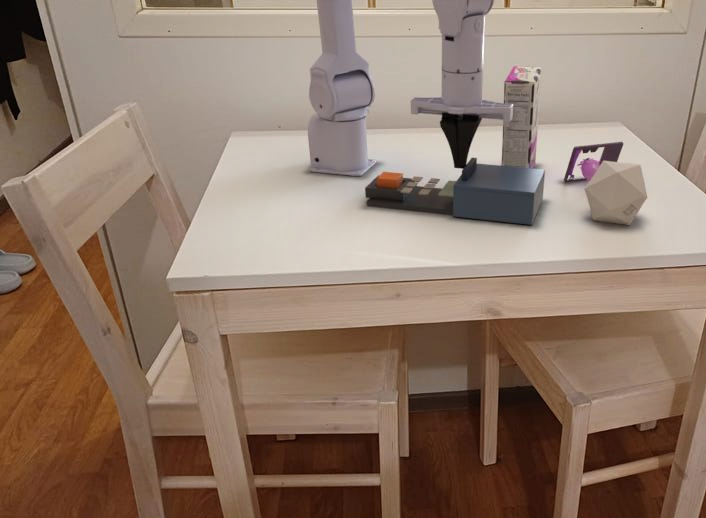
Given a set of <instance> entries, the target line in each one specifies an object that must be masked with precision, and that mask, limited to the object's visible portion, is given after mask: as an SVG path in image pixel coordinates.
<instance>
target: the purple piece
mask: <svg viewBox="0 0 706 518" xmlns="http://www.w3.org/2000/svg"><path fill="white" fill-rule="evenodd" d="M623 146H624V142H623V141H615V142H606V143H597V144H596V143H595V144H588V145H578V146H574V147H573V149H572V151H571V155H570V157H569V161H568V165H567V168H566V170H565V171H566V172H565V174H564V178H563V182H564V183H568V182H579V181H588V182H589V181H590V180H591V178H592V177H593V175H594V174H595V172H596V171H597V169H598V168H599V166H600V165H601V163H602V162H603V161H612V162H618V160H619V158H620V155H621V152H622V150H623ZM599 148H603V150H602V153H601V155H600V159H599V160H597V159H596V158H592V157H587V158H583V160H582V161H580V162H579V163H578V164H577V167H579V166H581V167H579V169H580V170H581V174H582V177H576V178H575V174H573V173H574V168H575V166H576V163H577V160H578V158H579V156H580V154H581V153H582V154H589V152H590V153H596V152H597V150H599Z"/></svg>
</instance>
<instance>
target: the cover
mask: <svg viewBox="0 0 706 518" xmlns="http://www.w3.org/2000/svg"><path fill="white" fill-rule="evenodd" d="M545 177H546V169H545V168H543V169H542V168H534V169H533V168H522V167H511V166H502V165H499V164H498V165H497V164H487V163H478V159H477V157H471V158H470V159H469V161H467V163H466V166H465V167H464V169H461V174H460V176H458V178H457V180H455V181H456V182H455V184H454V187H453V188H454V189H453V215H452V217H455V218H464V219H473V220H474V219H475V220H483V221H484V220H485V221H492V222H503V223H512V224H522V225H531V226H532V225H533V223H534V221H535V218H536V217H537V214H538V213H539V212H538V211H539V210H540V207H541V205H542V202H543V199H544V188H545Z"/></svg>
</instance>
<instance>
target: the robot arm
mask: <svg viewBox="0 0 706 518" xmlns="http://www.w3.org/2000/svg"><path fill="white" fill-rule="evenodd" d="M431 1H432V6H433V9H434V12H435V14H436V16H437V19H438V30H440V31H439V32H440V34H441V96H440V97H419V96H415V97H413V98H411V100H410V114H411V115H419V114H424V115H425V114H426V115H436V116H441V118H440V120H439V126H440V129H441V130H442V132H443V134H444V136H445V138H446V140H447V143H448V146H449V149H450V153H451V156H452V162H453V168H454V169H461V170H463V169H464V167H465V166H466V165H467V163H468V156H469V152H470V149H471V146H472V142H473V140H474V138H475V135H476V133H477V130H478V128H479V126H480V124H481V122H482V120H483V119H487V120H500V121H502V122H503V121H508V122H510V121H511V120H512V118H513V104H504V102H497V101H492V100H485V99H483V79H484V78H483V77H484V76H483V75H484V52H485V26H486V25H485V23H486V21H485V20H486V15H488V14H489V13H490V11H491V10H492V8H493V6H494V3H495V0H431ZM316 8H317V15H318V25H319V33H320V43H321V54H320V56H319V57H318V58H317V59H316V60H315V62H314V63H313V64H312V65H311V67H310V68H309V73H310V83H309V89H308V98H309V101H310V104H311V107H312V109H313V110H314V112H315V113H314V114H312V115H311V116H310V118H309V121H308V125H307V139H308V140H307V141H308V150H309V163H310V168H309V170H308V171H309V172H310V173H322V174H330V175H342V176H350V177H351V176H352V177H362V176H363V175H365V174H366V173H367V172H368V171H369V170H370V169H372V167H374V165H375V164H377V160H376V159H369V154H368V135H367V134H368V133H367V115H368V114H370V107H372V105H374V102H375V98H376V88H375V83H374V81H373V79H372V76H371V71H370V64H369V62H368V61H367V60H366V58H364V57H363V56H362V55H360V54H359V53H358V52H357V43H356V41H357V40H356V31H355V29H356V28H355V20H354V19H355V17H354V8H353V0H316Z"/></svg>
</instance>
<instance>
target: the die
mask: <svg viewBox="0 0 706 518" xmlns="http://www.w3.org/2000/svg"><path fill="white" fill-rule="evenodd" d="M642 169H643V168H642V165H641V164H638V163H629V162H620V161H617V162H612V161H603V162H602V163H601V165H600V166H599V168H598V169H597V171H596V172H595V174H594V175H593V177H592V178H591V180H590V181H588V183H587V185H586V186H585V187H584V191H585V195H586V199H587V202H588V206H589V211H590V214H591V217H592V221H596V222H603V223H609V224H610V223H611V224H618V225H627V226H630V225H631V224H632V222H633V220H634V219H635V217H636V215H637V214H638V213H639V211H640V209H641V208H642V206H643V205H644V204H645V202H646V200H647V199H648V193H647V188H646V184H645V179H644V174H643V170H642Z"/></svg>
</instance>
